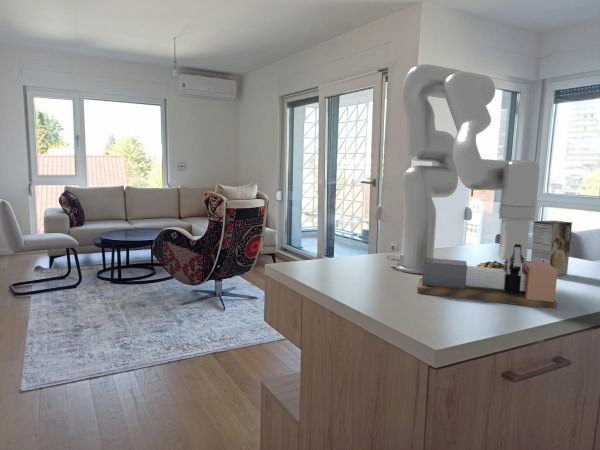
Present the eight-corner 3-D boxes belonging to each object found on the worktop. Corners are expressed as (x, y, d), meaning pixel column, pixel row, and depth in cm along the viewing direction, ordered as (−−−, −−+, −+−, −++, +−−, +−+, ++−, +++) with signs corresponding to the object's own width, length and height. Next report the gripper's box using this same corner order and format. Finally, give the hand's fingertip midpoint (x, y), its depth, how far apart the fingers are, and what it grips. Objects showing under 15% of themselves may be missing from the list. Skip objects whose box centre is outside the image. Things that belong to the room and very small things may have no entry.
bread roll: (521, 276, 124) (521, 259, 124) (499, 285, 119) (498, 268, 118) (487, 270, 134) (487, 254, 133) (465, 278, 128) (464, 262, 127)
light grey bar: (457, 284, 103) (458, 268, 103) (457, 280, 107) (458, 265, 107) (542, 293, 97) (544, 276, 97) (539, 288, 101) (540, 272, 101)
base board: (417, 292, 104) (417, 287, 104) (419, 283, 113) (420, 277, 113) (556, 308, 94) (556, 302, 94) (546, 296, 103) (547, 290, 103)
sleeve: (422, 285, 105) (423, 261, 104) (423, 280, 111) (424, 257, 110) (465, 290, 102) (467, 265, 101) (464, 284, 108) (466, 261, 107)
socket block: (526, 298, 96) (529, 268, 95) (519, 288, 105) (522, 260, 104) (554, 301, 94) (557, 271, 93) (544, 290, 103) (547, 262, 103)
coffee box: (547, 270, 134) (552, 219, 132) (567, 274, 128) (573, 222, 126) (528, 272, 129) (533, 220, 127) (549, 277, 124) (554, 223, 122)
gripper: (495, 210, 108) (490, 279, 110) (503, 215, 92) (497, 296, 95) (528, 211, 106) (522, 282, 108) (542, 217, 90) (534, 300, 92)
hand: (510, 288), depth 101 cm, fingers closed on light grey bar, 4 cm apart
